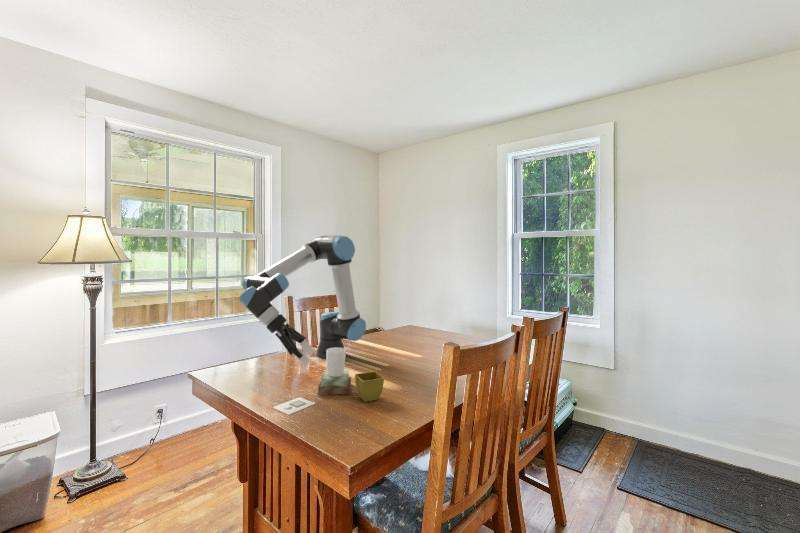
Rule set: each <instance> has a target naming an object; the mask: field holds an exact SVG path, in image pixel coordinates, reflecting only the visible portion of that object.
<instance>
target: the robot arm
mask: <svg viewBox="0 0 800 533" xmlns="http://www.w3.org/2000/svg"><path fill="white" fill-rule="evenodd" d="M355 247H356V246H355V243H354V242H353V240H352V239H351V238H349V237H348V236H347V235H346V236H345V235H339V234H338V235H322V236H318V237H315V238H314V239H312V240H310V241H308V242H307V243H305V244H303V245H302V246H301V247H300V249H298V250H297V251H295V252H294V253H291V254H290V255H288V256H286V257H285V258H282V259H281V260H280V261H278V262H276V263H274V264H272V265H271V266H269V267H268V268H265V269H264V270H262V271H261V272H259V273H257V274H255V275H248V276H246V277H245V278H243V279H242V280H243V281H242V288H243V290H244V291H243V292H242V293H241V294H240V295H239V297H238V300H239V302H241V303H242V305H243V307H245V308H246V309H247V310H248V311H249V312H250V313H252V315H253V316H254V317H255V318H256V319H258V322H259V323H260V324H263V326H266V329H267V330H268V331H269V332H270V333H271V334H274V333H275V334H274V335H275V336H276V337H277V338H278V340H279V341H280V343H281V344H282V345H283V347H284V348H285V349H286V351H287V352H288V353H289V355H290V356H292V355H294V356H295V357H296V358H297V359H298V360H299V361H300V362H301V363H302V365H304V366H306V365H307V364H308V363H309V362H310V361H311V359H310V358H309V357H308V356H307V355H306V354H305V353H304V352H303V351H302V350H301V349H300V348H299V347H297V345H296V344H295V342H297V343H298V344H299V346H301V348H302V349H303V350H304V351H305V352H306V353H307V354H308V355H309V356H312V355H313V354H314V353H315V355H316V356H317V357H318V358H320V359H326V350H327V349H329V348H335V347H338V348H344V349H345V346H344V344H343V339H344V340H347V341H353V342H356V341H359V340H361V339H362V338H363V336H364V334H365V332H366V330H367V323H366V320H364V319H363V318H362V317H361V314H360V312H359V311H360V310H357V308H356V302H355V296H354V288H353V283H352V276H351V275H352V273H351V268H350V265H351V263H352V259H353V258H354V256H355V252H356V248H355ZM318 260H326V261H327V265H328V266H329V268H331V271H332V277H333V283H334V290H335V295H336V301H337V308H338V311H331V312H329V311H327V312H323V313H322V314H321V315H320V320H319V321H320V322H319V324H320V326H319V331H320V332H319V341H318V346H317V349H316V350H315V349H314V348H313V346H311V345H310V343H308V342H307V340H306V336H304V335H302V334H301V333H300V332H299V331H298V330H296V329H295V328H293V327H292V326H291V325H290V324H289V323H286V322H287V318H286V317H285V316H284V315H282V314H281V313H280V311H279V310H278V309H277V308H276V307H275V306H274V305H273V304H272V303H271V302H272V301H274V300H275V299H276V298H277V297H279V296H280V295H281V294H283V293H284V292H285V290H287V289H288V288H289V286H290V285H289V284H290V282H289V281H288V278H287V277H288V276H289V275H291V274H293V273H294V272H296V271H298V270H299V269H301V268H303V267H304V266H306V265H307V264H310V263H314V262H315V261H318ZM285 323H286V324H285Z"/></svg>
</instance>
